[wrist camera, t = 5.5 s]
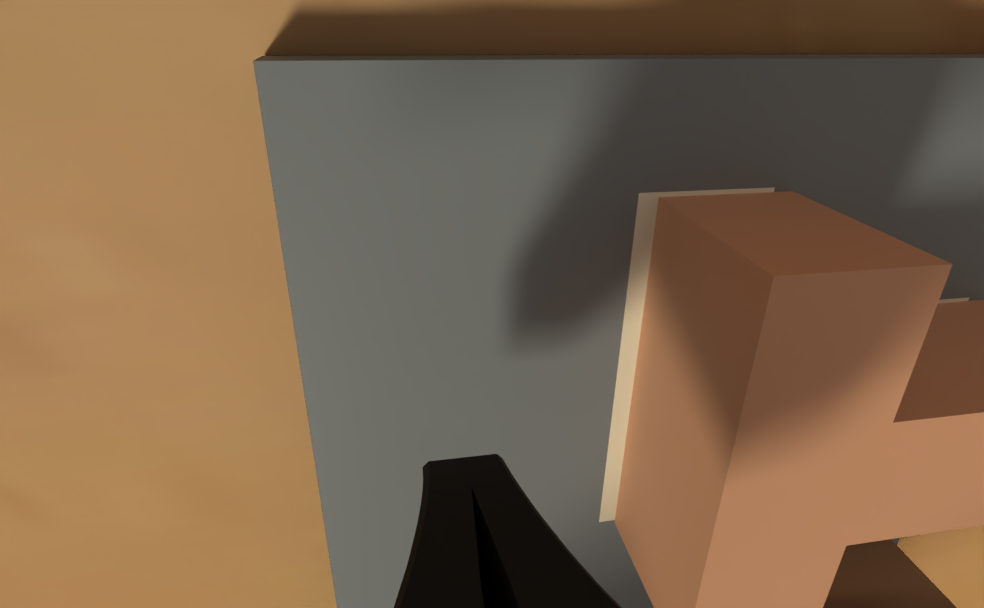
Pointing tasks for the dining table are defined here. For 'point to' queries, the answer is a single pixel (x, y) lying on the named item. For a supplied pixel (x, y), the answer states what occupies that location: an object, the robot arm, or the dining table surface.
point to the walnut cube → (882, 580)
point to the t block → (792, 401)
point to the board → (555, 250)
